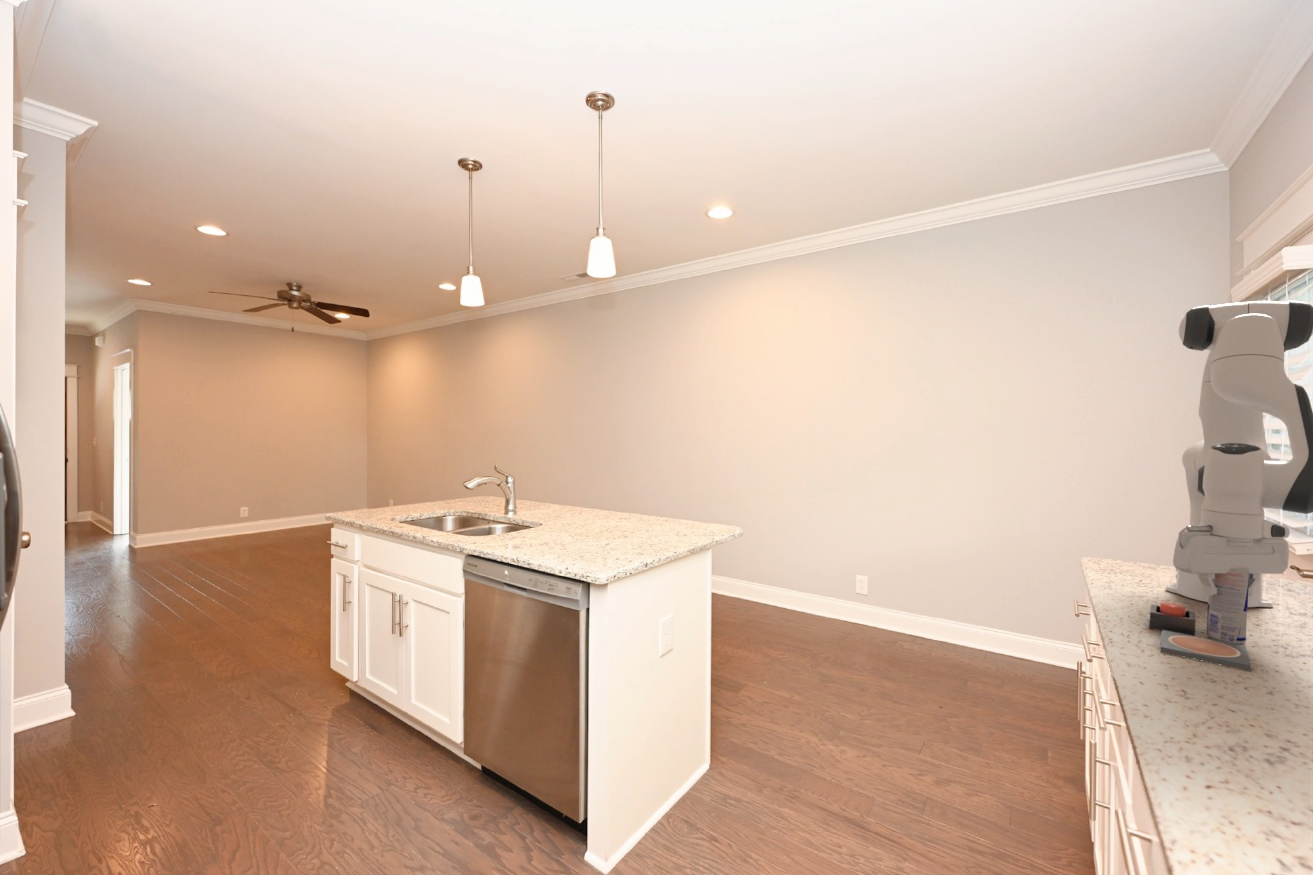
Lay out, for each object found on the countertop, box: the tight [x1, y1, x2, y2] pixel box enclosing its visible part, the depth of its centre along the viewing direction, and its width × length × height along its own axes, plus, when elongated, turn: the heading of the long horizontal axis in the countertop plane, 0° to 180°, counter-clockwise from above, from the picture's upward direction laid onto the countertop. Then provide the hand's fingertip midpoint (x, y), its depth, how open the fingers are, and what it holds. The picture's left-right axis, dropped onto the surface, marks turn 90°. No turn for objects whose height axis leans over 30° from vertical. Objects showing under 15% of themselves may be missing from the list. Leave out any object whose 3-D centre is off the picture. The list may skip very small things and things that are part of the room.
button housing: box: [1149, 603, 1197, 636], centre depth 122 cm, size 7×7×4 cm
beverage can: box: [1205, 569, 1249, 645], centre depth 115 cm, size 6×6×15 cm
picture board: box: [1159, 630, 1252, 672], centre depth 110 cm, size 12×12×1 cm
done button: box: [1159, 602, 1187, 617], centre depth 121 cm, size 4×4×2 cm
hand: (1227, 594), depth 115 cm, fingers closed on beverage can, 5 cm apart
